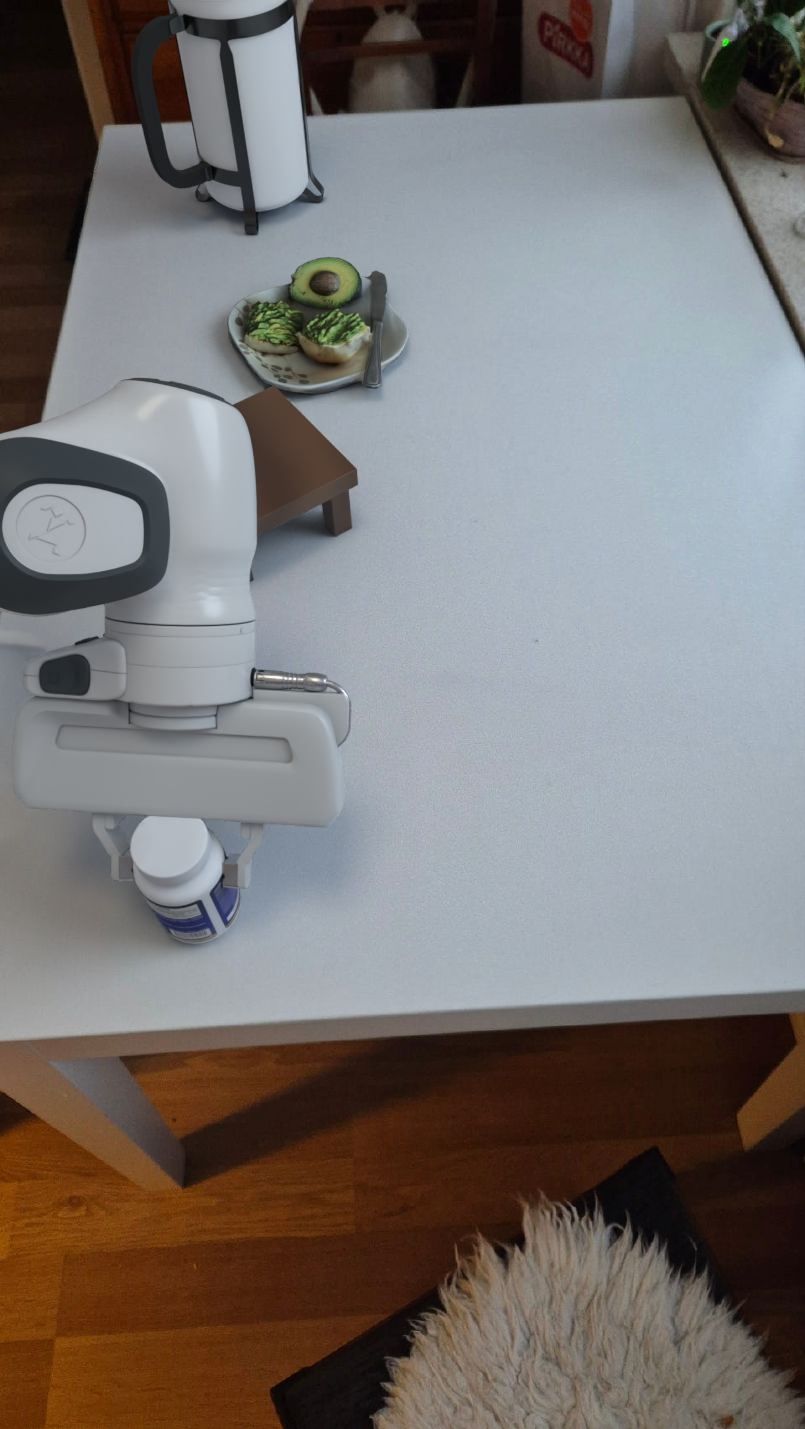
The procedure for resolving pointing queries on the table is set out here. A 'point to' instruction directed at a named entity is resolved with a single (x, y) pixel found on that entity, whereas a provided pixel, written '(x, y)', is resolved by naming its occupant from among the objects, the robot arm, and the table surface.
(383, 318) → the avocado toast plate
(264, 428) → the stand
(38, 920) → the table surface
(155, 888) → the pill bottle
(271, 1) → the coffee press
